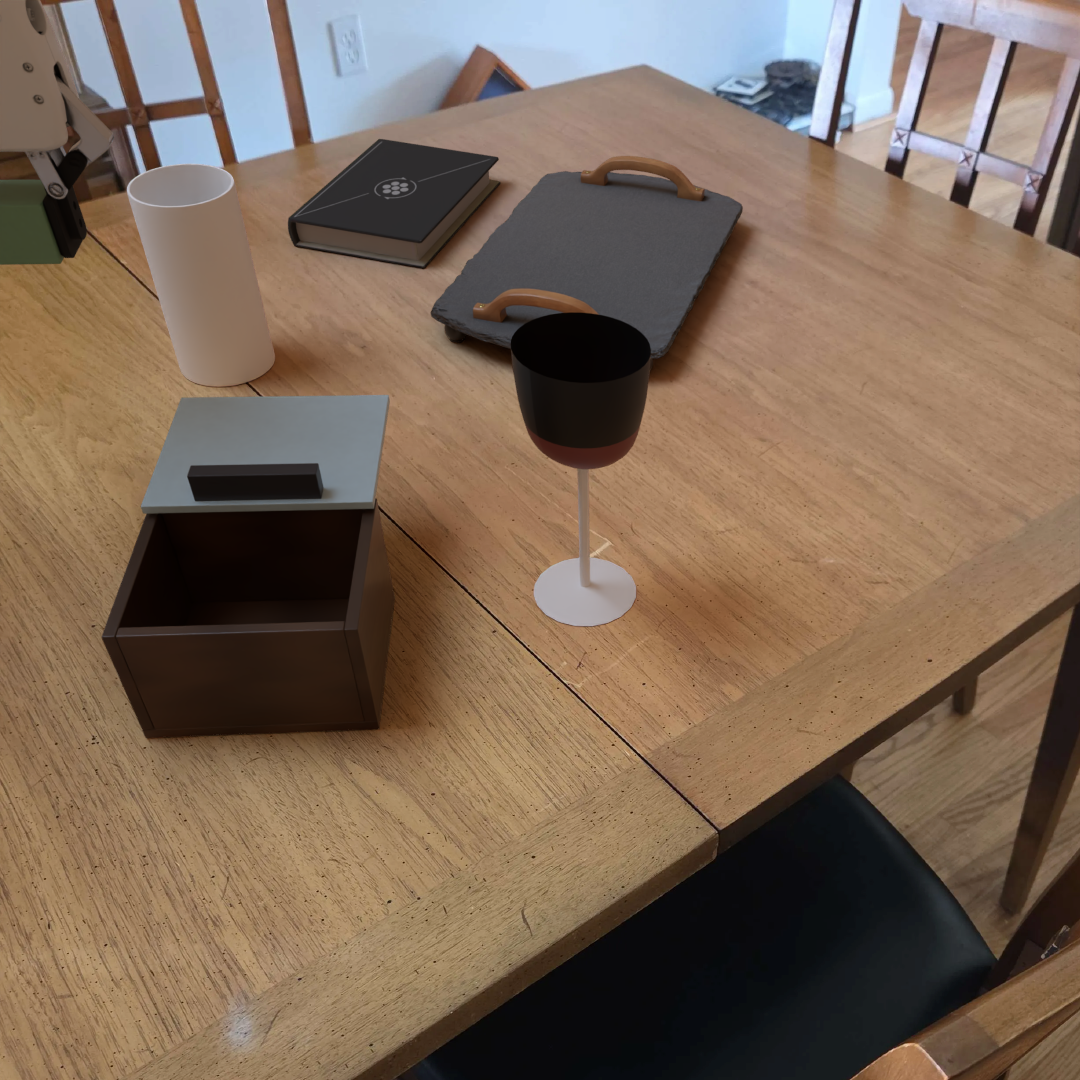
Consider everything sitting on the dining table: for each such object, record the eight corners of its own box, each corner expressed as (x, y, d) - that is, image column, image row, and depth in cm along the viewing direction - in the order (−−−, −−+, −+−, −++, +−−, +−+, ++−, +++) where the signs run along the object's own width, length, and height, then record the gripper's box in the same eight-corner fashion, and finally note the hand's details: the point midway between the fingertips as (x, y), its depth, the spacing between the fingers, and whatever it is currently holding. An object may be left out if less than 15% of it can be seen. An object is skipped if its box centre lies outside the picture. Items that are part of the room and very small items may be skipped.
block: (-3, 265, 77) (-26, 205, 74) (14, 237, 79) (-8, 179, 76) (61, 264, 77) (40, 205, 74) (75, 237, 80) (55, 178, 77)
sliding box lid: (142, 514, 74) (130, 481, 72) (183, 404, 83) (173, 372, 81) (374, 509, 76) (368, 476, 74) (390, 401, 84) (385, 370, 82)
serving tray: (655, 399, 102) (657, 336, 98) (413, 354, 106) (404, 291, 102) (750, 216, 129) (755, 160, 124) (553, 185, 132) (551, 129, 128)
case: (145, 738, 73) (100, 637, 67) (185, 603, 82) (149, 502, 76) (379, 729, 75) (357, 629, 68) (394, 598, 83) (377, 498, 77)
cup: (160, 365, 103) (103, 187, 92) (233, 328, 108) (188, 154, 96) (222, 397, 100) (172, 217, 89) (294, 358, 105) (256, 182, 93)
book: (380, 164, 134) (376, 137, 132) (500, 183, 132) (499, 156, 130) (290, 246, 120) (284, 217, 117) (424, 269, 117) (420, 240, 115)
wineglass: (560, 541, 88) (551, 299, 74) (662, 578, 86) (673, 335, 72) (505, 603, 83) (484, 357, 69) (611, 644, 81) (613, 397, 67)
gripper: (93, -79, 68) (176, 223, 82) (-212, -84, 67) (-77, 225, 80) (61, -41, 63) (155, 274, 76) (-270, -46, 61) (-115, 278, 75)
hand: (35, 246), depth 78 cm, fingers closed on block, 4 cm apart
